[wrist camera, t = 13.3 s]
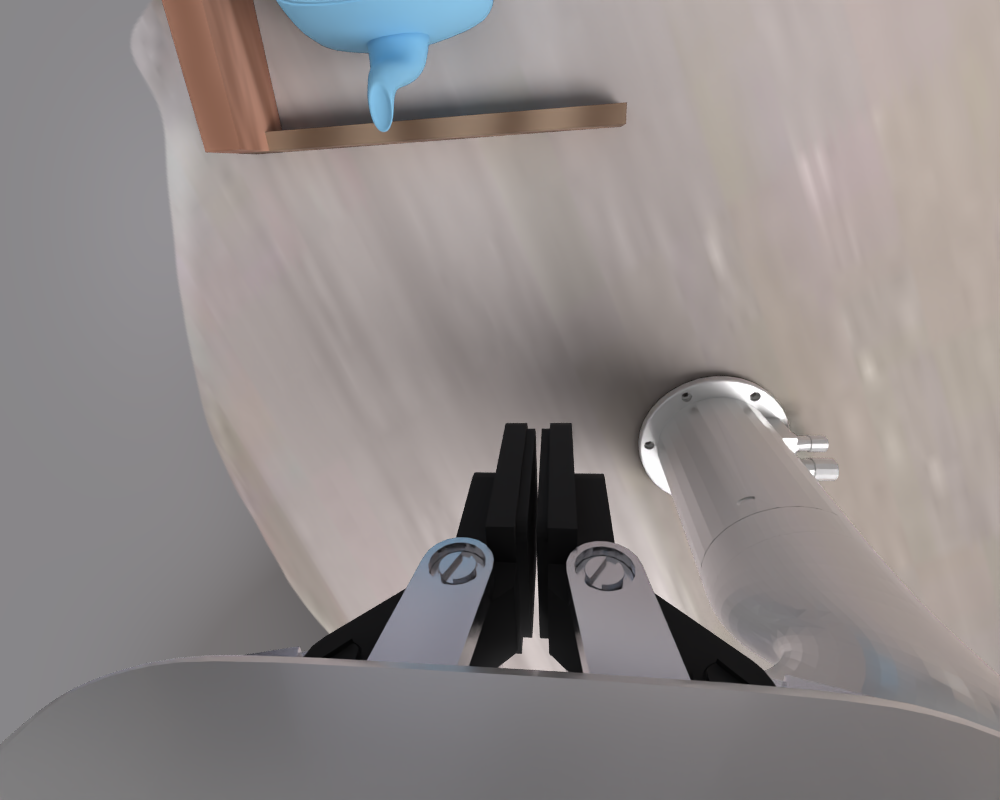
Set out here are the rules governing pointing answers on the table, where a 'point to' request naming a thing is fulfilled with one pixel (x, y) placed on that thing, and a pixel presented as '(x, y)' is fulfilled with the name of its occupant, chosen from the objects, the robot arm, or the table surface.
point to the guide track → (257, 129)
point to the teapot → (385, 37)
